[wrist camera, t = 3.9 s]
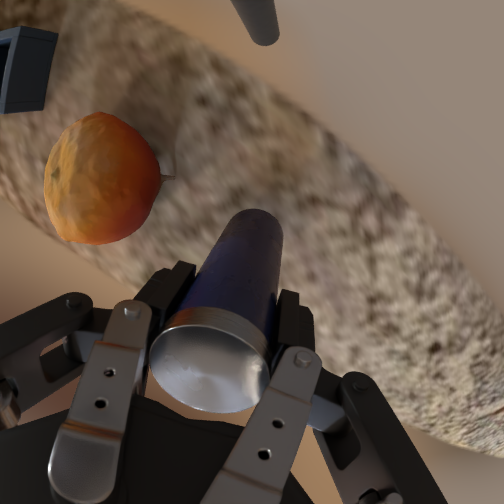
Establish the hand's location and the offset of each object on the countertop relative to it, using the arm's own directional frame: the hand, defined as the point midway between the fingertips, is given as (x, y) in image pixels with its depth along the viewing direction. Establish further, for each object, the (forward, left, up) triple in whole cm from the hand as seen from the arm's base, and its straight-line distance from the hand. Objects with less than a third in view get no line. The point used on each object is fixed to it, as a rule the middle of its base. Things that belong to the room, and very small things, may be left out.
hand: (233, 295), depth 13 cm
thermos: (0, 0, -7) cm, 7 cm away
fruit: (-2, -10, -9) cm, 13 cm away
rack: (-9, -28, -9) cm, 31 cm away
